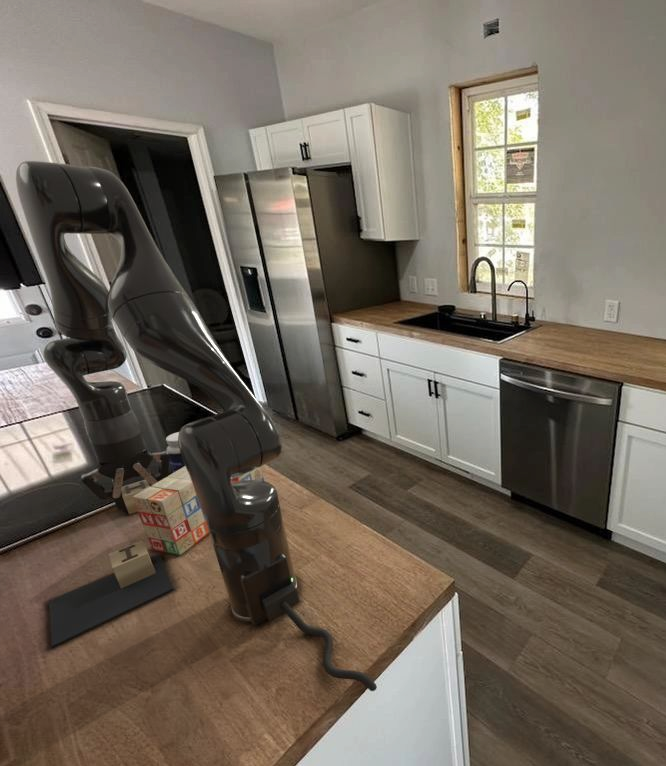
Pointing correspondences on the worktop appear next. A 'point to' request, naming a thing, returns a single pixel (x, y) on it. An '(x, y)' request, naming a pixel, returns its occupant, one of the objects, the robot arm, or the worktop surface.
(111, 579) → the word mat
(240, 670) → the worktop surface
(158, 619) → the worktop surface
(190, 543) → the stack of blocks
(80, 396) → the robot arm
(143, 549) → the tile
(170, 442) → the pill bottle
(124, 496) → the tile
